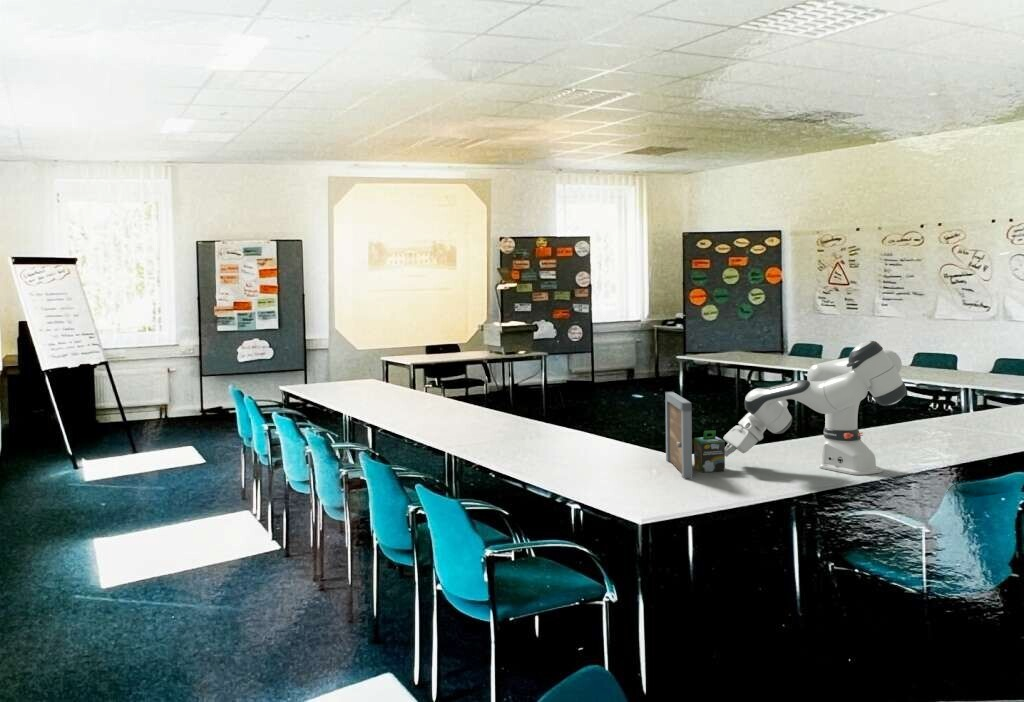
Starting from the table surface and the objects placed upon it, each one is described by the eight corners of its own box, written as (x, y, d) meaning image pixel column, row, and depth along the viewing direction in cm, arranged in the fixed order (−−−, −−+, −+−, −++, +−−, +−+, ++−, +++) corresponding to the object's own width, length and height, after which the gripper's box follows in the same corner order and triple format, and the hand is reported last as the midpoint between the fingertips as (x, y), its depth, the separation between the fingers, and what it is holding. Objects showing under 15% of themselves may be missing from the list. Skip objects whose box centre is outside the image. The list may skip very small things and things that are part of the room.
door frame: (673, 459, 321) (672, 391, 319) (692, 478, 289) (691, 402, 287) (666, 460, 321) (665, 391, 319) (683, 478, 289) (682, 403, 287)
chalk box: (717, 466, 308) (716, 427, 307) (725, 471, 299) (725, 431, 298) (693, 467, 307) (692, 428, 306) (701, 472, 298) (701, 432, 297)
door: (674, 460, 316) (673, 402, 315) (687, 474, 293) (687, 411, 291) (666, 461, 316) (665, 402, 314) (679, 474, 293) (678, 411, 291)
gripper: (736, 417, 312) (710, 443, 312) (752, 426, 291) (725, 454, 292) (747, 429, 312) (722, 454, 313) (764, 438, 292) (737, 466, 292)
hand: (723, 454), depth 302 cm, fingers closed
